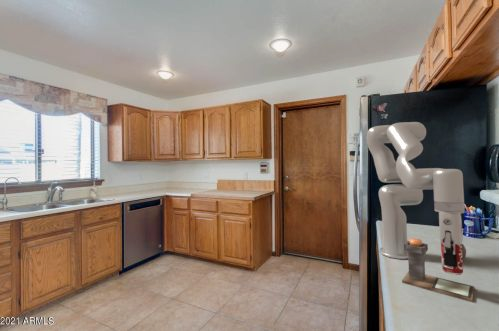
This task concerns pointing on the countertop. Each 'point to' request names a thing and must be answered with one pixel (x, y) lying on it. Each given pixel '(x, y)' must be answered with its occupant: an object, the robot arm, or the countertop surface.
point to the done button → (416, 242)
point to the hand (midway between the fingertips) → (451, 262)
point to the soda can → (459, 268)
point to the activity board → (429, 282)
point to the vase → (463, 252)
